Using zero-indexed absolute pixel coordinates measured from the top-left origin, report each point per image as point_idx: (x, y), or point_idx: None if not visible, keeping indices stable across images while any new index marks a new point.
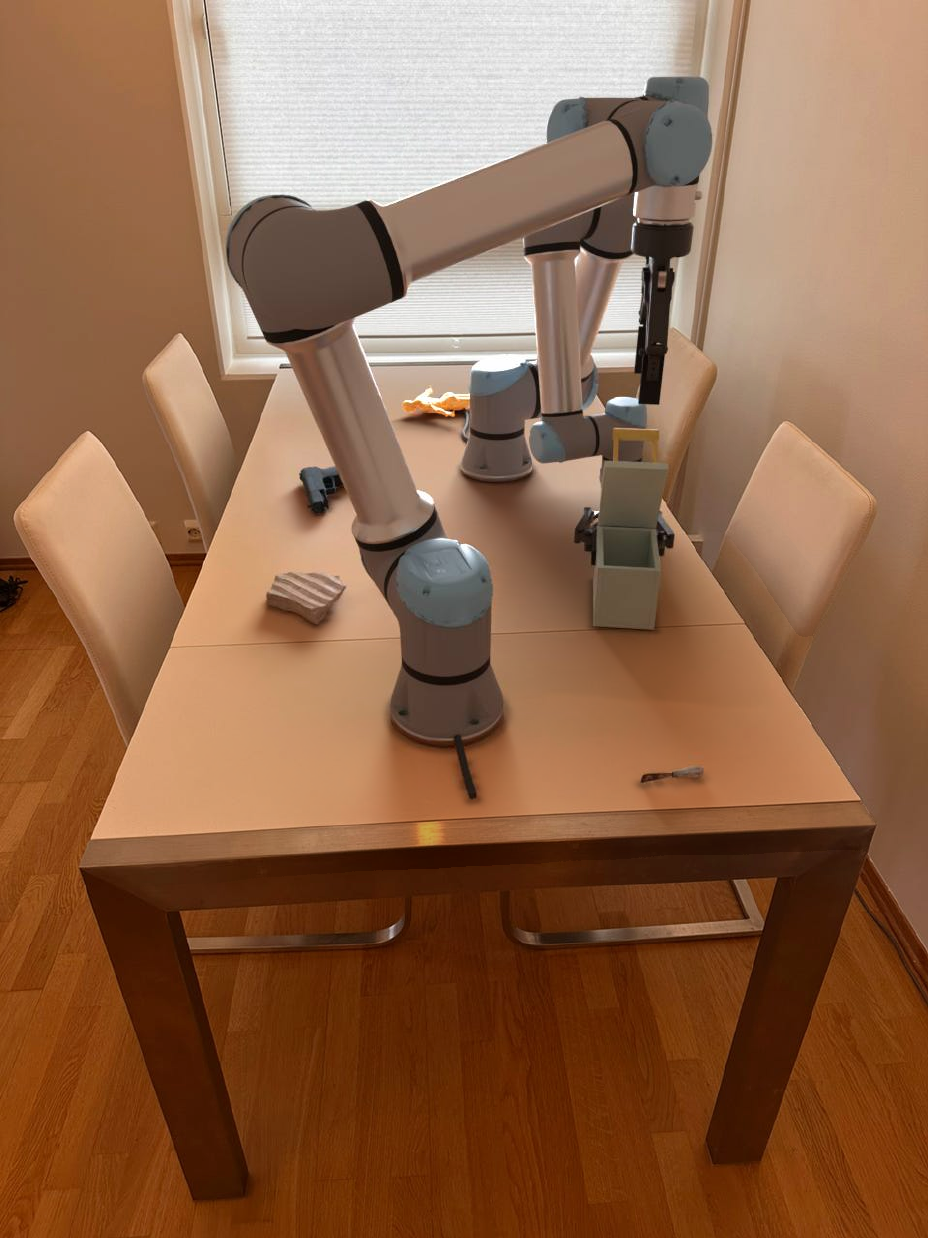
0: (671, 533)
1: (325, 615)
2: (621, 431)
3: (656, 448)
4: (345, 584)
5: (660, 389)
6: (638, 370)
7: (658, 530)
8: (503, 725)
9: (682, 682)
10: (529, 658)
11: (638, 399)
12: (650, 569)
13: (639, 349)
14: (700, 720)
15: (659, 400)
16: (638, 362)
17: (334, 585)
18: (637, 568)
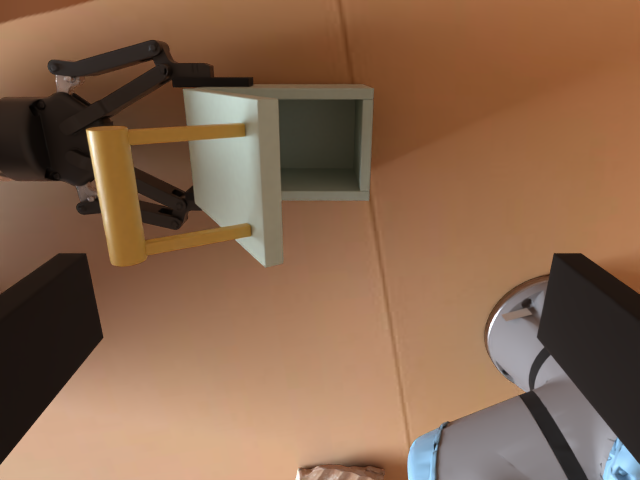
0: (153, 47)
1: (368, 467)
2: (132, 243)
3: (169, 132)
4: (316, 467)
5: (627, 289)
6: (92, 329)
7: (114, 69)
8: None
9: (496, 49)
10: (440, 252)
11: (545, 344)
12: (369, 108)
13: (30, 409)
14: (585, 30)
15: (590, 262)
16: (72, 357)
17: (323, 477)
18: (367, 132)
